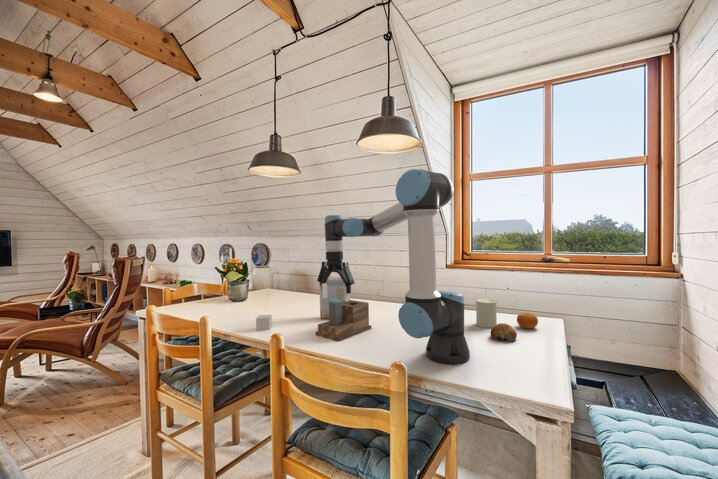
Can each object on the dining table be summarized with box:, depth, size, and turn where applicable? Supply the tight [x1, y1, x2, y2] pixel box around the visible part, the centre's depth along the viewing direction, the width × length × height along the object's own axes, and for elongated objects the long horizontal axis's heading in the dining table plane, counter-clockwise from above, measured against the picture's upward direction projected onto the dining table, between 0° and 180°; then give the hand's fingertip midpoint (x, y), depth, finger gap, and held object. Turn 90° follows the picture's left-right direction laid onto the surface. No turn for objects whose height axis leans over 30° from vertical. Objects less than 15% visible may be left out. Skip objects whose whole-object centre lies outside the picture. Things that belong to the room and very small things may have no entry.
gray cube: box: [255, 314, 273, 332], centre depth 155 cm, size 6×6×6 cm
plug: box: [328, 299, 342, 326], centre depth 143 cm, size 4×4×14 cm
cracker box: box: [318, 277, 345, 320], centre depth 172 cm, size 14×6×21 cm, turn 88°
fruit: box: [516, 312, 539, 329], centre depth 150 cm, size 8×8×8 cm
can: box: [475, 298, 498, 329], centre depth 154 cm, size 9×9×12 cm
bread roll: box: [490, 322, 518, 343], centre depth 135 cm, size 10×10×8 cm
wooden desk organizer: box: [315, 299, 373, 342], centre depth 148 cm, size 14×22×12 cm, turn 140°
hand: (335, 299), depth 143 cm, fingers open, 13 cm apart
